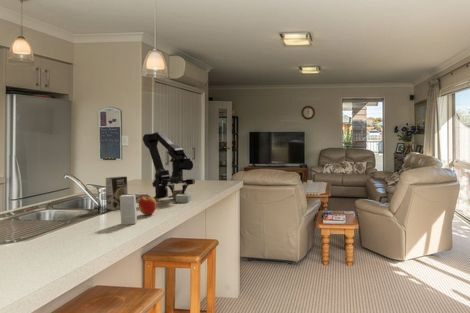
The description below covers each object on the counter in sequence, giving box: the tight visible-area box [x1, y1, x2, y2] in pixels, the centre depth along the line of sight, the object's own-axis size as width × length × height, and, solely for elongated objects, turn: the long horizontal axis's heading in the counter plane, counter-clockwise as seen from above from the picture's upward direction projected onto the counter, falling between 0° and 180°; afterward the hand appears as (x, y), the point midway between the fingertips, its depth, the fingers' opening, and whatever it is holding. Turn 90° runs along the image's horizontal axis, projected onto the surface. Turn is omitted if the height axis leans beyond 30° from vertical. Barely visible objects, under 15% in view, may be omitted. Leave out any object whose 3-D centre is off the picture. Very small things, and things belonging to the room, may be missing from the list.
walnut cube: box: [172, 188, 183, 200], centre depth 260 cm, size 5×5×5 cm
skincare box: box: [119, 194, 138, 226], centre depth 191 cm, size 6×4×12 cm
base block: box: [175, 193, 192, 204], centre depth 249 cm, size 7×7×4 cm
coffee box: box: [105, 176, 129, 211], centre depth 232 cm, size 9×6×16 cm
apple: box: [138, 193, 157, 215], centre depth 211 cm, size 8×8×10 cm
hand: (178, 196), depth 260 cm, fingers closed on walnut cube, 5 cm apart
